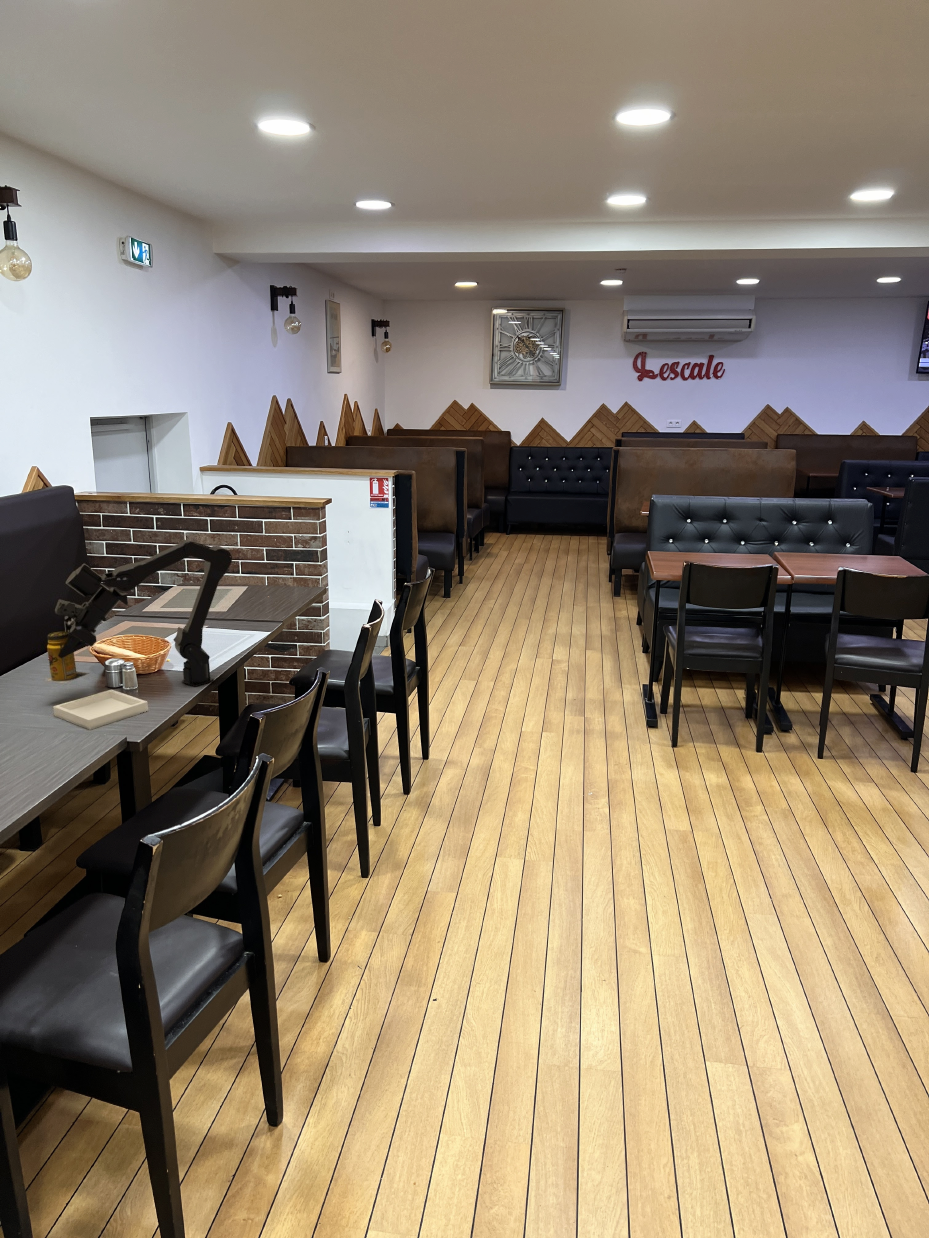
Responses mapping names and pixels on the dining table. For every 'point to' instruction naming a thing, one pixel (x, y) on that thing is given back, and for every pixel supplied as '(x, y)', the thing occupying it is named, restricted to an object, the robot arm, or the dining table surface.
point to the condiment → (61, 659)
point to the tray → (100, 709)
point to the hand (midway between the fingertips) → (58, 653)
